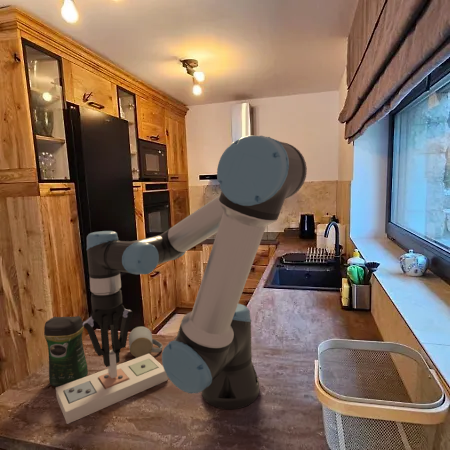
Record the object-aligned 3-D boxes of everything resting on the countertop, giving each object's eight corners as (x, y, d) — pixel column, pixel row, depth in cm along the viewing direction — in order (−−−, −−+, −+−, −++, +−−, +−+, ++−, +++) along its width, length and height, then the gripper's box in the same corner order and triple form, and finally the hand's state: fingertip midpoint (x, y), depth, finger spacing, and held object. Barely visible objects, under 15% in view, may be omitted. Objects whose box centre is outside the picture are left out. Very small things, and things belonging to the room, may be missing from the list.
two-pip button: (129, 388, 86) (128, 376, 86) (106, 397, 82) (105, 386, 82) (121, 378, 91) (120, 367, 90) (99, 386, 87) (98, 375, 87)
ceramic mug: (130, 361, 100) (128, 338, 99) (129, 349, 108) (128, 327, 107) (164, 355, 103) (163, 332, 103) (161, 344, 111) (160, 323, 110)
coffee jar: (92, 371, 95) (86, 311, 93) (78, 388, 87) (72, 323, 85) (60, 371, 96) (54, 312, 94) (44, 388, 88) (37, 323, 86)
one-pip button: (158, 376, 91) (157, 366, 91) (138, 385, 88) (137, 374, 87) (149, 368, 96) (148, 357, 95) (129, 375, 92) (129, 365, 92)
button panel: (167, 380, 90) (167, 369, 89) (66, 424, 74) (65, 412, 74) (149, 362, 99) (149, 353, 99) (56, 398, 83) (55, 387, 83)
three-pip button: (96, 402, 81) (95, 390, 80) (70, 413, 77) (69, 401, 77) (89, 391, 86) (88, 380, 85) (65, 401, 82) (64, 389, 82)
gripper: (125, 282, 90) (130, 361, 93) (75, 292, 82) (83, 378, 85) (135, 288, 84) (141, 372, 87) (83, 300, 76) (91, 392, 79)
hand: (112, 375), depth 86 cm, fingers closed
